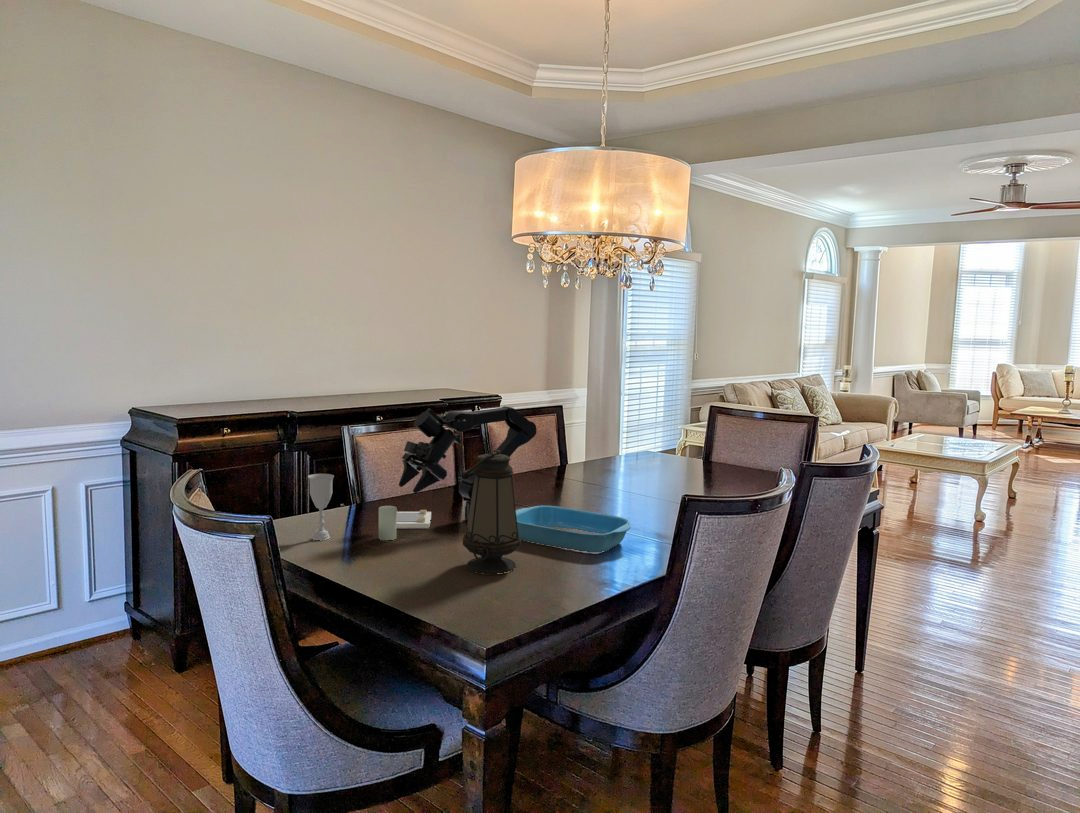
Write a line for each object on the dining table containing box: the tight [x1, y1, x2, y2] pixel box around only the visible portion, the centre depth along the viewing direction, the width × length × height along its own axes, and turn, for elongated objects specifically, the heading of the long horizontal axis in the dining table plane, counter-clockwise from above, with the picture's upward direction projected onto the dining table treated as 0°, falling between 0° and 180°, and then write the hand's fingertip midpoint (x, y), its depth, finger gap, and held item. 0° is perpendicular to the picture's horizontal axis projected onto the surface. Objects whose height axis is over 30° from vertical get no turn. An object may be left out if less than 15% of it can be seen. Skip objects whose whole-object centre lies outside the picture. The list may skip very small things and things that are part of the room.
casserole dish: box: [516, 505, 631, 552], centre depth 211 cm, size 37×22×7 cm, turn 59°
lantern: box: [460, 449, 522, 574], centre depth 185 cm, size 18×15×30 cm
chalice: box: [307, 473, 335, 542], centre depth 205 cm, size 7×7×18 cm
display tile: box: [396, 509, 432, 529], centre depth 225 cm, size 14×14×2 cm
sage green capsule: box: [378, 505, 398, 542], centre depth 208 cm, size 5×5×9 cm
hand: (406, 489), depth 212 cm, fingers open, 9 cm apart
